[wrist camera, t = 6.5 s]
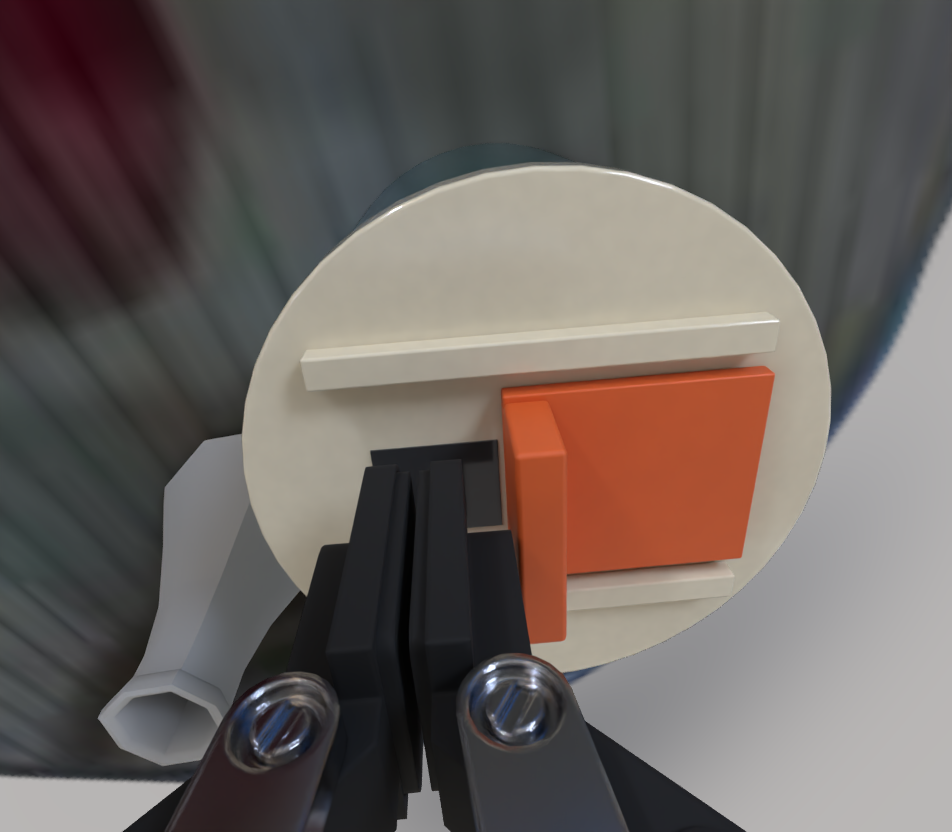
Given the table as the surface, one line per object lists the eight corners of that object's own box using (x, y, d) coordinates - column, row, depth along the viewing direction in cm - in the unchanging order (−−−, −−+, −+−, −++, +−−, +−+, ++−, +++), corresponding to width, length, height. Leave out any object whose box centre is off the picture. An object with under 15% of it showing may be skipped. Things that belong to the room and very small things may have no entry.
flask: (133, 476, 23) (-52, 700, 15) (284, 394, 22) (181, 585, 13) (249, 593, 27) (154, 836, 18) (387, 528, 25) (359, 753, 16)
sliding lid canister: (360, 460, 24) (303, 718, 14) (302, 150, 18) (141, 200, 8) (642, 436, 24) (789, 672, 14) (665, 122, 19) (928, 138, 9)
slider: (510, 566, 12) (523, 651, 11) (500, 386, 11) (513, 450, 9) (734, 546, 13) (788, 626, 11) (765, 364, 11) (839, 421, 9)
